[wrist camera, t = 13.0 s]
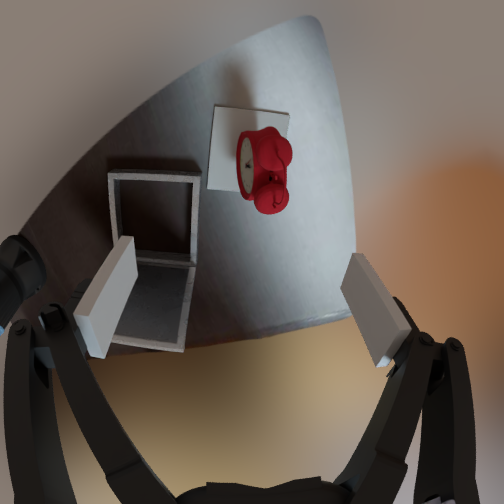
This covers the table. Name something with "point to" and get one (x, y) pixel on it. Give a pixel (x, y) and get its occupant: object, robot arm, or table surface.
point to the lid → (157, 308)
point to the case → (156, 175)
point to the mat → (235, 141)
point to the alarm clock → (263, 168)
